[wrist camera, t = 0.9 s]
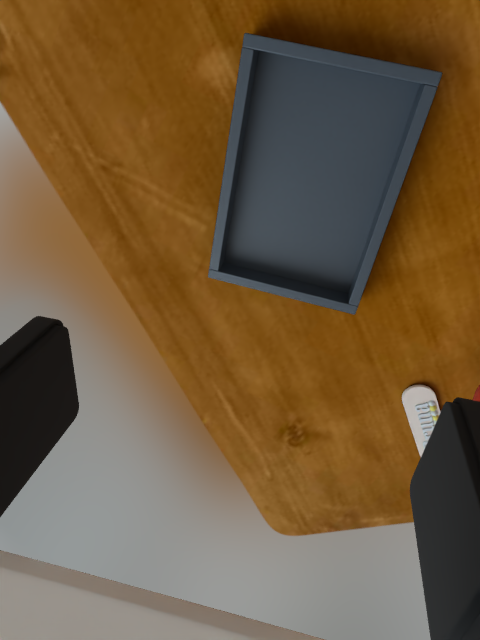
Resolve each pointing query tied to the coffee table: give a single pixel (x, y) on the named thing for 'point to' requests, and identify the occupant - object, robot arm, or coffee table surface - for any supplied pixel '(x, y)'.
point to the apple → (477, 394)
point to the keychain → (421, 413)
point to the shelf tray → (314, 168)
